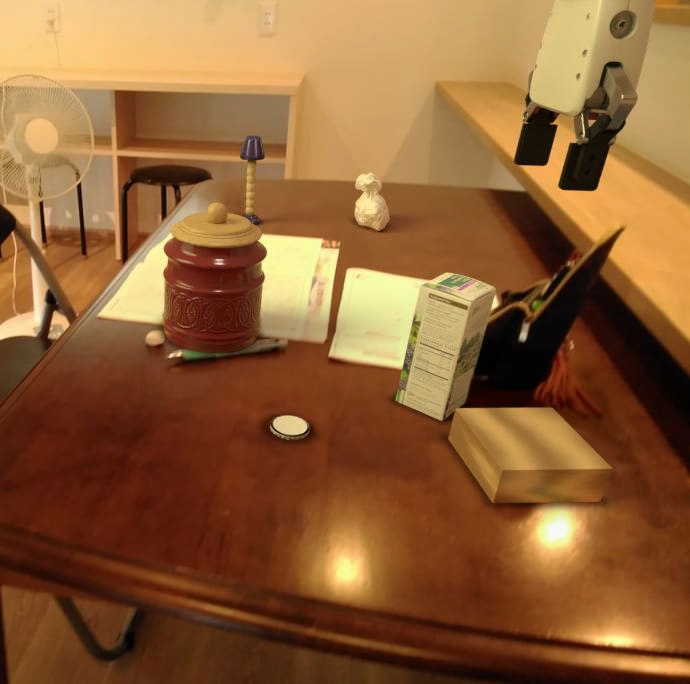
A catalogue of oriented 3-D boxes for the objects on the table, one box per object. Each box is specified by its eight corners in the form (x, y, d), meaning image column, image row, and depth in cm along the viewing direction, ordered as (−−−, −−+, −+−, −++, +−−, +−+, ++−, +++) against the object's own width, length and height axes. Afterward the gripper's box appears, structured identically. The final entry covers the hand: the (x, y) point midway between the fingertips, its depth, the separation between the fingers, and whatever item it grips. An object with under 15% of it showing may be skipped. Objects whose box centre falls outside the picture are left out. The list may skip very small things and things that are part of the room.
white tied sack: (366, 227, 142) (337, 181, 140) (400, 207, 139) (371, 160, 136) (367, 245, 132) (336, 196, 129) (403, 224, 129) (373, 174, 126)
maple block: (541, 439, 71) (552, 407, 69) (599, 504, 62) (613, 468, 60) (447, 440, 70) (455, 407, 69) (492, 506, 62) (502, 470, 60)
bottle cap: (279, 415, 74) (279, 410, 73) (314, 426, 72) (315, 421, 72) (263, 433, 71) (264, 428, 70) (300, 445, 69) (301, 440, 69)
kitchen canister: (188, 363, 84) (193, 223, 76) (146, 321, 94) (147, 194, 86) (278, 345, 89) (292, 211, 81) (229, 307, 99) (237, 185, 91)
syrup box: (419, 385, 80) (443, 269, 74) (467, 405, 77) (498, 284, 70) (394, 403, 77) (417, 282, 70) (444, 424, 73) (473, 299, 66)
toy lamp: (232, 224, 135) (238, 137, 127) (240, 218, 138) (245, 133, 131) (256, 228, 133) (263, 139, 125) (263, 221, 137) (270, 135, 129)
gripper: (723, -31, 49) (643, 203, 57) (600, -26, 65) (550, 158, 73) (617, -34, 49) (552, 200, 57) (520, -28, 65) (479, 156, 73)
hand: (551, 176), depth 65 cm, fingers open, 9 cm apart
